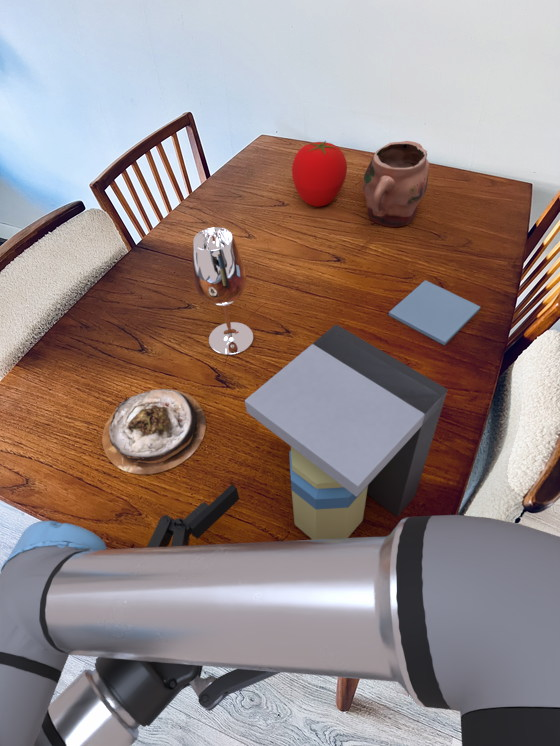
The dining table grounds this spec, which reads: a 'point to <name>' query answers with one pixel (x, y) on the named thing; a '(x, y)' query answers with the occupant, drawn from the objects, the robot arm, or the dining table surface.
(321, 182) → the tomato
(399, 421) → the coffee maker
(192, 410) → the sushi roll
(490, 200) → the dining table surface
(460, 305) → the plate
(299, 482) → the jar
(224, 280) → the wineglass
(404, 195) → the pink ceramic mug
